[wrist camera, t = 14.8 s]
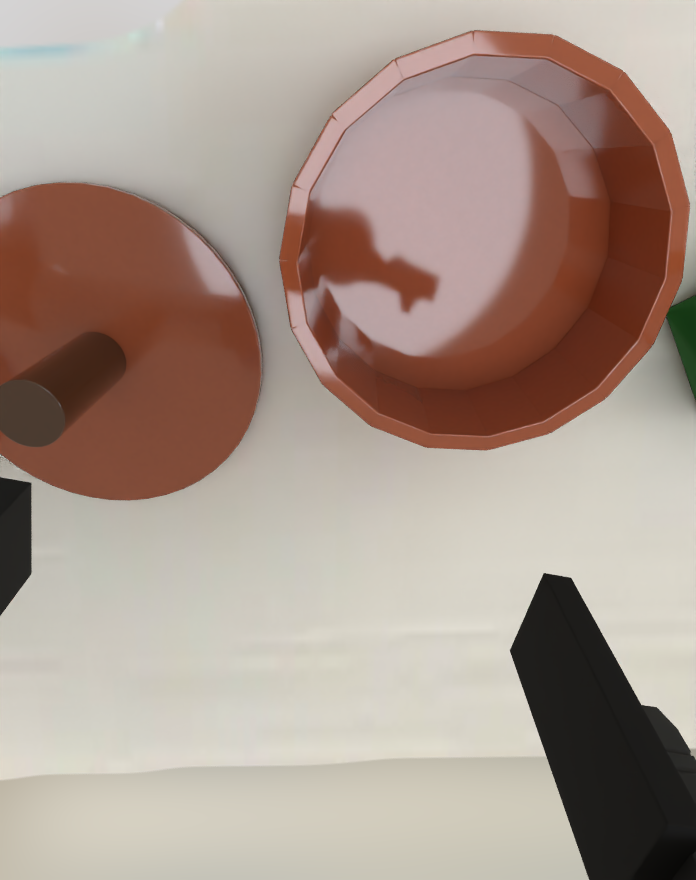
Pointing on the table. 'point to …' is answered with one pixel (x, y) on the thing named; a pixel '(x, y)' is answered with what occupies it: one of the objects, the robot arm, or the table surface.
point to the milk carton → (685, 336)
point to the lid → (118, 344)
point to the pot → (484, 240)
